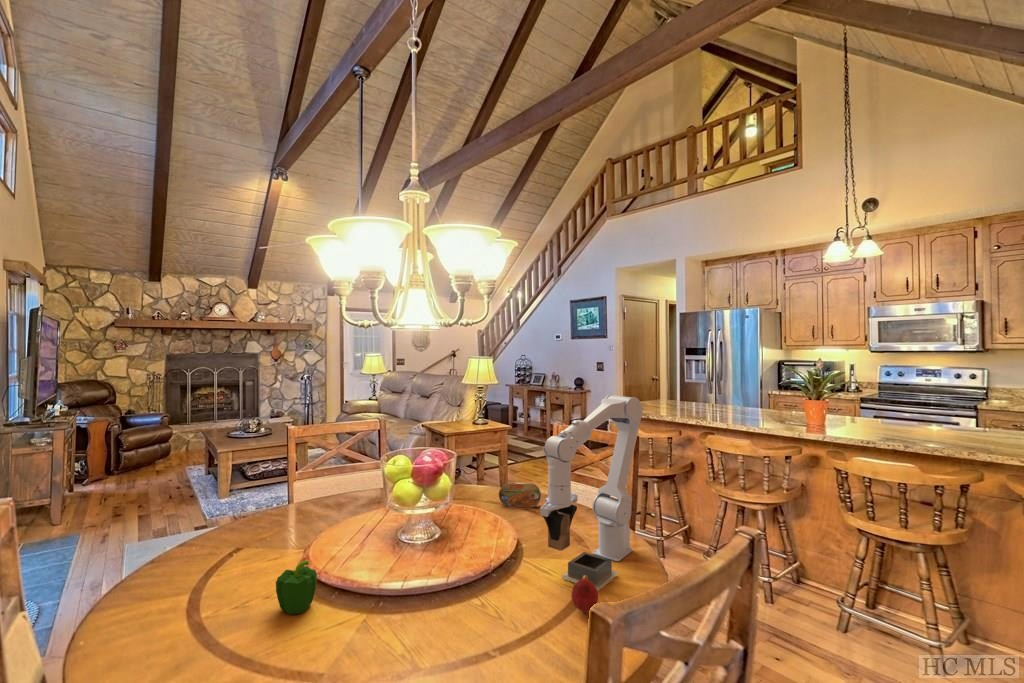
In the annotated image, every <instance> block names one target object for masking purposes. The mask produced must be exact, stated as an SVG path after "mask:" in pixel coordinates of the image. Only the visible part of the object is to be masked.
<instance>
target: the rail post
mask: <svg viewBox="0 0 1024 683" xmlns="http://www.w3.org/2000/svg"><path fill="white" fill-rule="evenodd" d="M558 514H562V515H564V517H563V519H562V522H561V527H560V536H559V540H558V541H556V540H553V539H551V538H550V534H549V530H548V529H547V544H548V545H547V547H548V548H551V549H554V550H558V551H561V552H562V551H564V550H565V549H567V548H568V547H570V545H571V526H570V515H569V514H565V513H561V512H558Z"/></svg>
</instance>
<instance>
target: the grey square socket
mask: <svg viewBox="0 0 1024 683" xmlns="http://www.w3.org/2000/svg"><path fill="white" fill-rule="evenodd" d="M561 575H562V578H561V579H562V580H564V579H565V581H567V582H570V581H571V582H570V583H573V582H574V583H573V584H576V583H577V582H578V581H580V580H582V578H583V576H584V575H586V576H587V577H588V580H589V581H591V582H592V583H593V584H594V586H595V587H596V589H597V592H599V591H601V590H602V589H603V588H604V587H606V586H607V585H609V583H610V582H611V581H613V580H614V579H615V578H616V577H617V576H618V571H616V570H613V560H611V559H607V558H604V557H601V556H597V555H594V554H593V553H589V552H586V551H583V552H582V553H580V554H579V555H577V556H575V557H574V558H572V559H571V560H570V561H568V562H567V571H566V572H565V573H563V574H561ZM614 577H615V578H614ZM613 578H614V579H613ZM612 579H613V580H612ZM606 584H607V585H606ZM600 589H601V590H600Z"/></svg>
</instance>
